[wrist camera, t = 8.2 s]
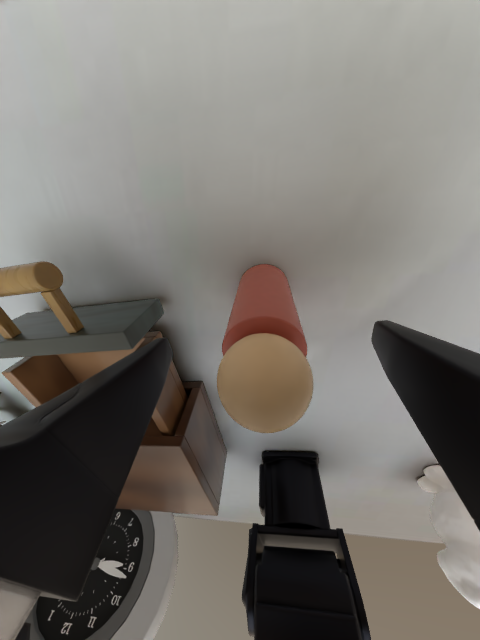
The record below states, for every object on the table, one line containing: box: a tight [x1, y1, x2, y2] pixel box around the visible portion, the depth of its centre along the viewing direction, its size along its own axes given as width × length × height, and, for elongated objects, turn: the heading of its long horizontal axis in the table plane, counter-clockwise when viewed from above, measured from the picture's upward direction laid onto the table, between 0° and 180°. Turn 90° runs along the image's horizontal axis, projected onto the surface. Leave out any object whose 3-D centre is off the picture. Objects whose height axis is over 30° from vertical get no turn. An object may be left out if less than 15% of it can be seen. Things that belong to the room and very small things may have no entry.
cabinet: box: [115, 381, 227, 516], centre depth 21 cm, size 13×13×6 cm
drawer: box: [0, 261, 188, 436], centre depth 15 cm, size 15×11×4 cm
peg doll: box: [217, 264, 313, 433], centre depth 10 cm, size 3×3×10 cm
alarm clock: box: [25, 508, 178, 640], centre depth 28 cm, size 21×8×20 cm, turn 85°
